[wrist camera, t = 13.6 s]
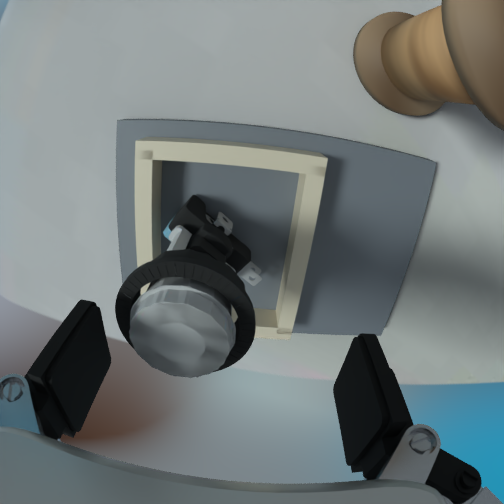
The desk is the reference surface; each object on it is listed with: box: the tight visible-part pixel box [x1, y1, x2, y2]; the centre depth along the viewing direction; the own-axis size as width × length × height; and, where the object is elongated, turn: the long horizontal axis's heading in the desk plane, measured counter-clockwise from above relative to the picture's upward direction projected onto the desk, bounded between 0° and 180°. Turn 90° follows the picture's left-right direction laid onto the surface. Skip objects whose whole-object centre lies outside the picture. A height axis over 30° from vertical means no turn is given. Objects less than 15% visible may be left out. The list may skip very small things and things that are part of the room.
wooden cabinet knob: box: [353, 0, 504, 131], centre depth 10 cm, size 7×7×11 cm
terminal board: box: [116, 119, 437, 340], centre depth 19 cm, size 20×14×3 cm
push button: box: [115, 195, 262, 378], centre depth 15 cm, size 7×5×10 cm
